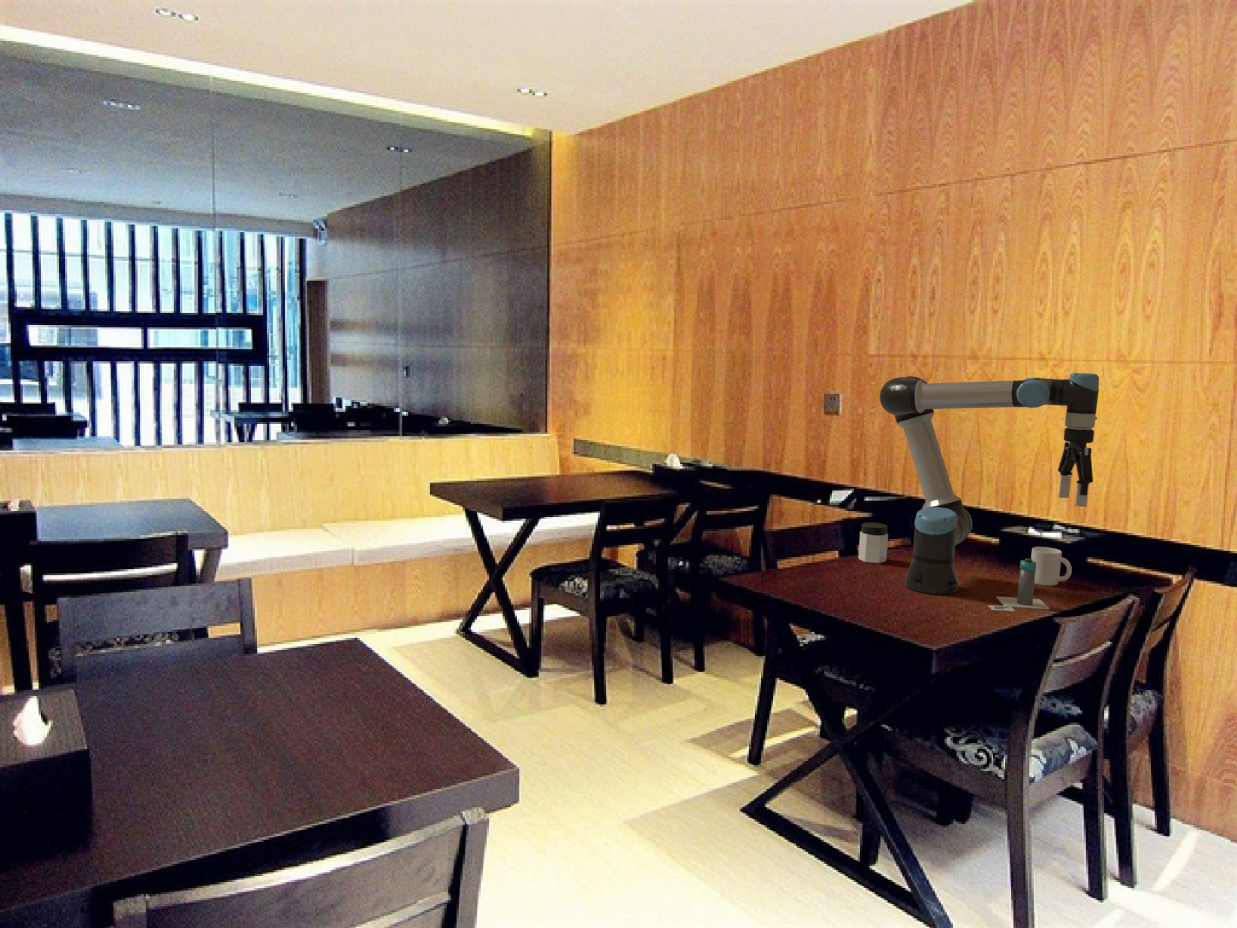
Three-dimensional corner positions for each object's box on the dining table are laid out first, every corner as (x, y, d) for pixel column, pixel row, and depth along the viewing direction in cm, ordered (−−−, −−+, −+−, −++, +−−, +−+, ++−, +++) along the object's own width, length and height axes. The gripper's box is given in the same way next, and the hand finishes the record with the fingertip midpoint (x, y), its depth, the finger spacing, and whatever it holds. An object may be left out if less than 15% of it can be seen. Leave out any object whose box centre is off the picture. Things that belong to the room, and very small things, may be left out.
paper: (1004, 606, 252) (1004, 605, 252) (996, 597, 261) (996, 596, 261) (1049, 609, 251) (1050, 608, 250) (1039, 600, 259) (1039, 598, 259)
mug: (1075, 586, 275) (1078, 553, 274) (1063, 590, 270) (1066, 557, 269) (1036, 577, 284) (1039, 545, 283) (1024, 581, 279) (1027, 549, 278)
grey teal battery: (1020, 605, 253) (1024, 560, 251) (1014, 600, 257) (1018, 557, 255) (1035, 605, 253) (1039, 561, 251) (1028, 601, 257) (1032, 557, 255)
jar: (890, 563, 297) (892, 527, 295) (867, 564, 295) (870, 528, 294) (876, 556, 306) (879, 521, 304) (854, 557, 304) (857, 522, 302)
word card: (992, 610, 248) (992, 609, 248) (988, 606, 252) (988, 604, 252) (1015, 611, 247) (1015, 610, 247) (1010, 607, 251) (1011, 606, 251)
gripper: (1111, 433, 241) (1103, 511, 244) (1077, 424, 265) (1070, 494, 268) (1081, 432, 242) (1073, 509, 245) (1050, 423, 266) (1043, 493, 269)
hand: (1072, 502), depth 257 cm, fingers open, 13 cm apart
